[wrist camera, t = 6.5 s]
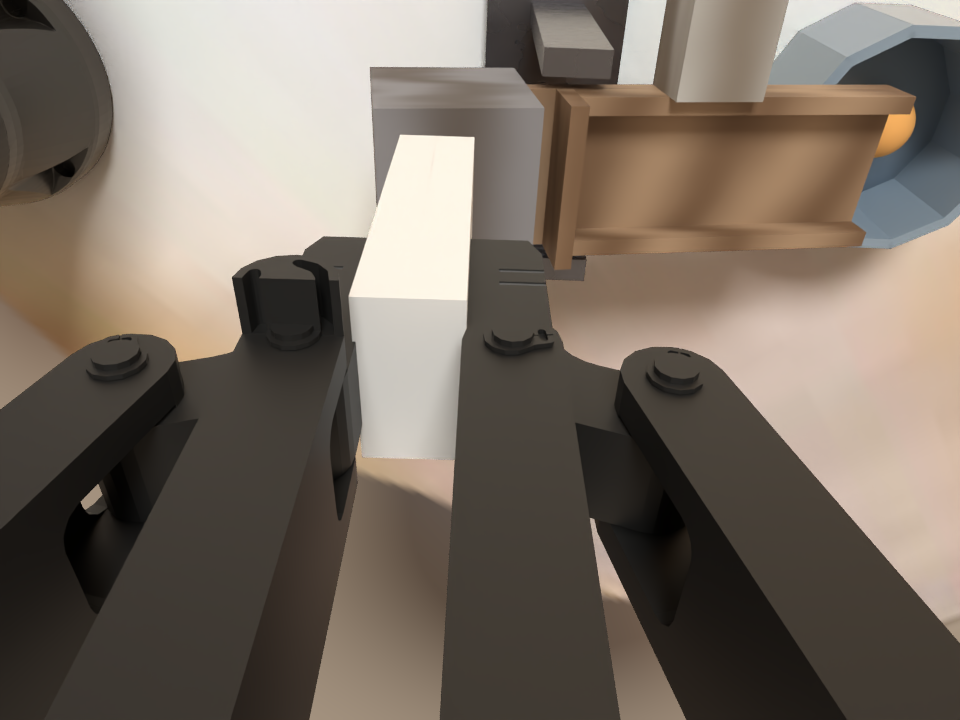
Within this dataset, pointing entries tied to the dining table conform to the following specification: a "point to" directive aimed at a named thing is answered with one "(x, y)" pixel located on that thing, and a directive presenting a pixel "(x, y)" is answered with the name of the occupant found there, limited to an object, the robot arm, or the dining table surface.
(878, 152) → the ball
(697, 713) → the robot arm
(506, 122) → the lever
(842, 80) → the cup
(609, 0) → the lever stand
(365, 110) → the dining table surface
